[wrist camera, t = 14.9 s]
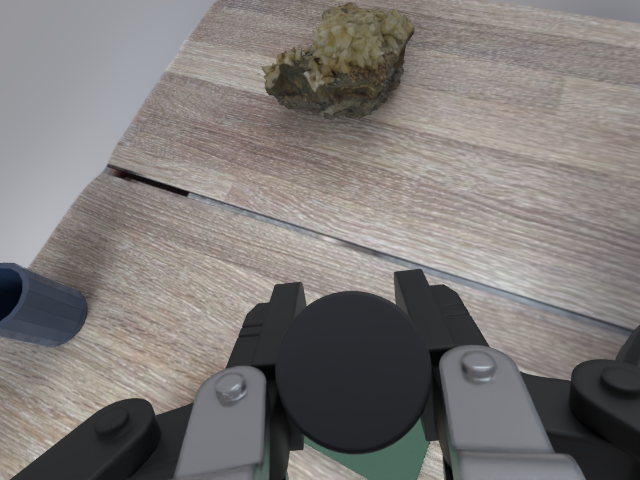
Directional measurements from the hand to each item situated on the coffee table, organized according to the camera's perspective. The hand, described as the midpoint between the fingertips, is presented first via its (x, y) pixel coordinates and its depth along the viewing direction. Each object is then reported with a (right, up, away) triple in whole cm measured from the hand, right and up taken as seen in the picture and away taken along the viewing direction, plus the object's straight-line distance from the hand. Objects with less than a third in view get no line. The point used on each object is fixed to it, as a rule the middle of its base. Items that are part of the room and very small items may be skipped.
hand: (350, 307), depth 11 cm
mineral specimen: (+2, +19, +33) cm, 38 cm away
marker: (+1, -6, +8) cm, 10 cm away
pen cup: (-25, -5, +26) cm, 37 cm away
